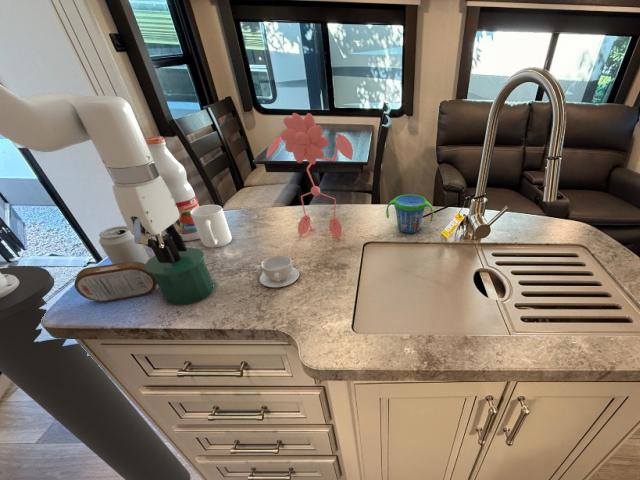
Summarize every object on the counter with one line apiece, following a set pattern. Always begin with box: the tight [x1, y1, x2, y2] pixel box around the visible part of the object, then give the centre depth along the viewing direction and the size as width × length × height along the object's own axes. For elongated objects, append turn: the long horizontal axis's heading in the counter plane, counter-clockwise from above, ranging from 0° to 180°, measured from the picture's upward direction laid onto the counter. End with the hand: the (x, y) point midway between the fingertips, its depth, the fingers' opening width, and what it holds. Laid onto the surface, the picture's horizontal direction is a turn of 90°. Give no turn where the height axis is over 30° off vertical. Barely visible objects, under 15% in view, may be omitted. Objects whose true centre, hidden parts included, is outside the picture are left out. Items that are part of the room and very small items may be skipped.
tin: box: [73, 261, 158, 303], centre depth 73 cm, size 15×3×8 cm, turn 113°
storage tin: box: [153, 259, 215, 306], centre depth 75 cm, size 10×10×8 cm
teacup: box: [259, 254, 300, 288], centre depth 82 cm, size 10×10×5 cm
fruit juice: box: [144, 135, 200, 242], centre depth 93 cm, size 9×9×28 cm
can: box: [98, 225, 151, 264], centre depth 80 cm, size 8×8×12 cm
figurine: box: [265, 112, 354, 253], centre depth 90 cm, size 15×26×35 cm, turn 80°
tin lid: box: [145, 234, 206, 276], centre depth 71 cm, size 12×12×7 cm
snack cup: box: [385, 193, 434, 234], centre depth 106 cm, size 16×10×10 cm
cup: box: [190, 204, 233, 249], centre depth 94 cm, size 8×12×10 cm
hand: (173, 255), depth 72 cm, fingers open, 4 cm apart
